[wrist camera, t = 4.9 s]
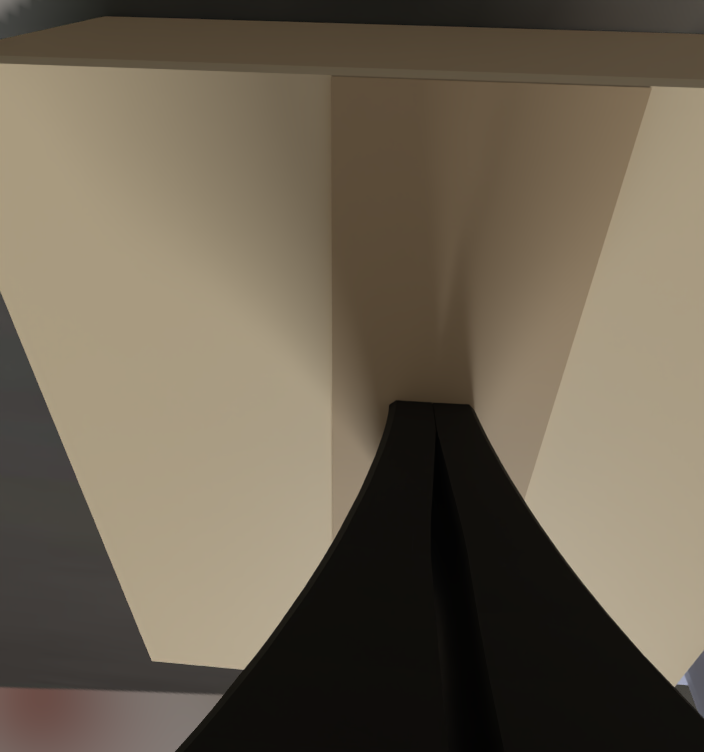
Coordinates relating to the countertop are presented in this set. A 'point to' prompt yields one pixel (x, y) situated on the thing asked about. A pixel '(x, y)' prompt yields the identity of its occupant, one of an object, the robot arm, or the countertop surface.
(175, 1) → the countertop surface
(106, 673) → the countertop surface
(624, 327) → the cardboard lid
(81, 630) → the countertop surface
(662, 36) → the cardboard box
